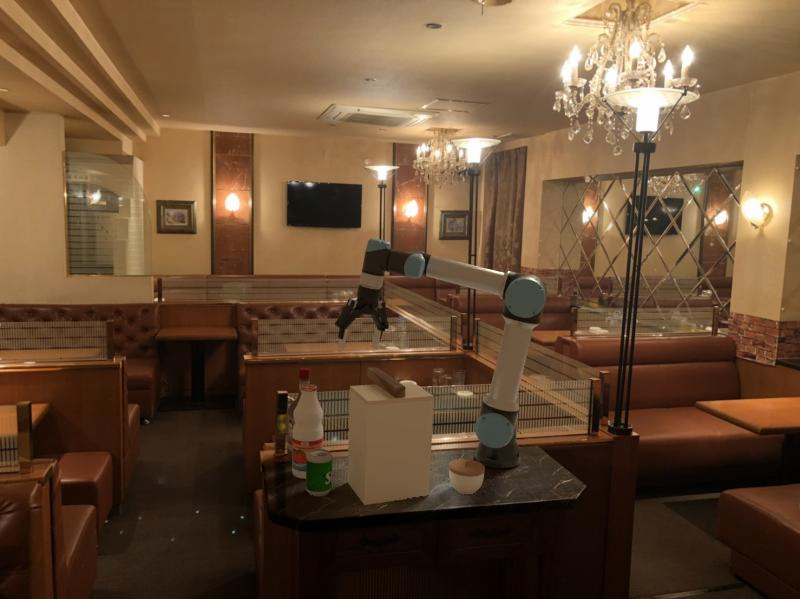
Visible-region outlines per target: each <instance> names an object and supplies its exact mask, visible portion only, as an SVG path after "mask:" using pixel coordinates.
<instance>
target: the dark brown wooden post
mask: <svg viewBox="0 0 800 599" xmlns="http://www.w3.org/2000/svg"><path fill="white" fill-rule="evenodd" d="M366 377H367V378H368V379H369V380H371V381H372V382H374V384H377V385H379V386H380V387H381V388H383V389H384V390H385V391H387V392H388V393H389V394H391V395H392V396H393V397H395V398H401V397H405V388H406V387H405V386H404V385H402V384H401V383H402V382H399V381H398V380H396V379H395V378H394V377H392V376H390V375H389V374H387V373H385V371H383V370H381V369H380V368H378V367H376V366H374V367H373V366H372V367H367V371H366Z"/></svg>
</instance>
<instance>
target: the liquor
mask: <svg viewBox="0 0 800 599" xmlns="http://www.w3.org/2000/svg"><path fill="white" fill-rule="evenodd" d="M298 370H299V371H298V379H299V382H298V395H297V398H296V399H295V400H294V401H293V402H292V403H291V404H290V405H289V406H288V409H287V434H286V435H287V440H286V441H287V443H286V444H287V445H286V446H287V447H286V448H287V449H286V454H287V456H288V457H289V458H290V459H291V460H292V444H293V427H294V425H295V421H294V416H293V414H294V410H295V408H296V407H297V405H298V402H299V400H300V397H301V394H302V392H301V386H302V385H306V384H311V383H310V380H311V368H310V367H300V368H299V369H298Z"/></svg>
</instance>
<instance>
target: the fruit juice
mask: <svg viewBox="0 0 800 599" xmlns="http://www.w3.org/2000/svg"><path fill="white" fill-rule="evenodd" d="M317 391H318V386H317V385H315V384H311V383H310V384H306V385H302V386H301V392H302V394H301V397H300V400H299V402H298V405H297V407H296V408H295V410H294V414H293V416H294V421H295V425H294V427H293V444H292V459H291V472H292V475H293V476H294V477H295V478H298V479H304V480H306V456H307V454H308V453H309V452H310V451H311V450H314V449H324V427H323V424H322V421H323V419H324V411H323V408H322V407H321V405H320V402H319V399H318V396H317Z"/></svg>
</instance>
